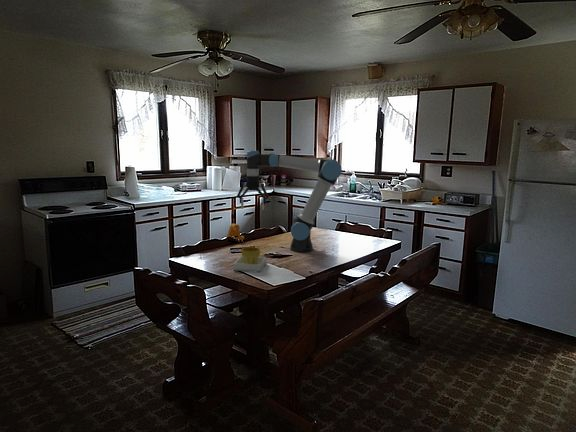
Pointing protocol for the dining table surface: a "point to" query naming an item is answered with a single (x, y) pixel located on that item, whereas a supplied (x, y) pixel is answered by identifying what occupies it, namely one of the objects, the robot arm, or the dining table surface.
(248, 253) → the plant pot
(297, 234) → the robot arm
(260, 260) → the tray
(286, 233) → the dining table surface
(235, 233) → the orange irregular lump
